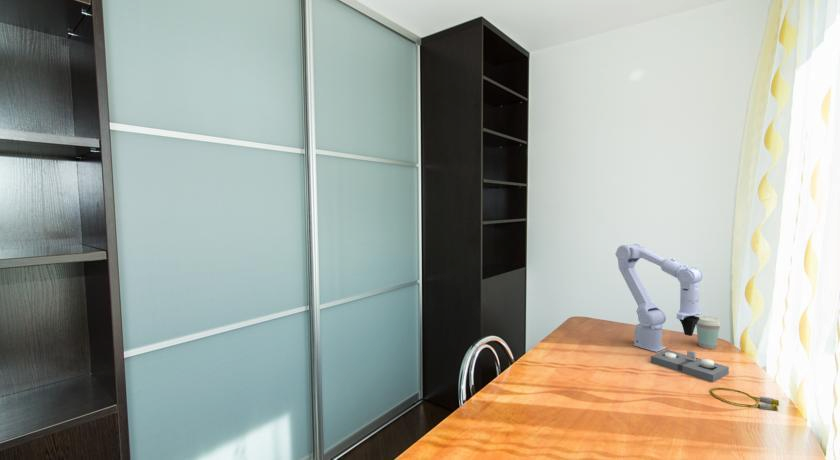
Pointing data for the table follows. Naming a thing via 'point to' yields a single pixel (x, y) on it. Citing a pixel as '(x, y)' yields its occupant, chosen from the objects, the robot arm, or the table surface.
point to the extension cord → (764, 399)
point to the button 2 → (707, 363)
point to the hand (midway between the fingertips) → (688, 335)
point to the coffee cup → (707, 332)
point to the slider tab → (691, 355)
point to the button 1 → (670, 355)
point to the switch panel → (690, 366)
